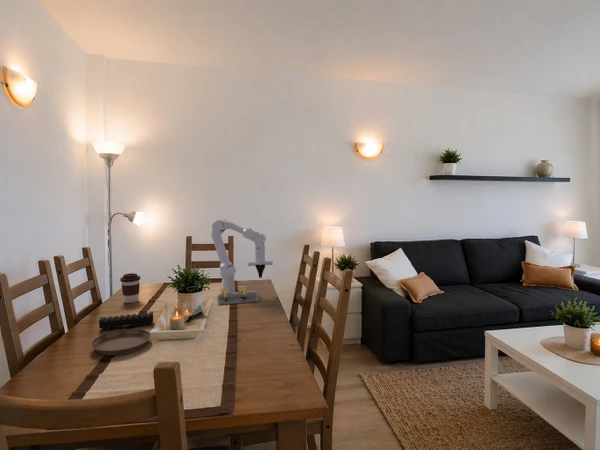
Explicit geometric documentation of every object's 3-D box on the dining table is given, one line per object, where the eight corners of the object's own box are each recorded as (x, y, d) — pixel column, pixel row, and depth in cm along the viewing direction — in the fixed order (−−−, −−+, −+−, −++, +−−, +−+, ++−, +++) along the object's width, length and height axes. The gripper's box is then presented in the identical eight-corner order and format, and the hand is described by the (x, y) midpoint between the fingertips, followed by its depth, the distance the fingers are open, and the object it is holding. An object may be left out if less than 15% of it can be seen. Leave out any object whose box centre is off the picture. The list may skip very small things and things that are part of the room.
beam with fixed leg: (218, 297, 198) (218, 287, 198) (255, 294, 204) (255, 285, 203) (218, 301, 191) (218, 291, 190) (257, 298, 196) (257, 288, 196)
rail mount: (153, 321, 164) (153, 310, 164) (152, 326, 158) (152, 315, 158) (101, 327, 157) (101, 316, 157) (99, 332, 151) (98, 321, 151)
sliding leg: (238, 295, 201) (238, 285, 201) (245, 294, 202) (245, 285, 202) (240, 298, 194) (239, 289, 193) (247, 298, 195) (247, 288, 194)
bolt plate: (217, 297, 200) (217, 296, 200) (255, 294, 206) (255, 293, 206) (218, 305, 187) (218, 303, 187) (259, 301, 193) (259, 299, 193)
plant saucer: (159, 335, 147) (158, 327, 147) (138, 358, 127) (137, 349, 126) (108, 336, 146) (108, 328, 146) (79, 359, 126) (79, 350, 126)
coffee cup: (144, 298, 199) (143, 272, 198) (134, 304, 190) (133, 276, 188) (128, 298, 200) (126, 272, 199) (117, 303, 191) (116, 276, 189)
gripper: (248, 256, 200) (248, 279, 201) (273, 255, 204) (273, 278, 205) (246, 254, 207) (247, 277, 208) (271, 253, 211) (271, 275, 212)
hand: (260, 277), depth 207 cm, fingers closed
